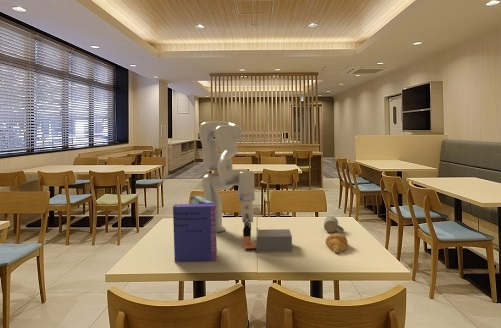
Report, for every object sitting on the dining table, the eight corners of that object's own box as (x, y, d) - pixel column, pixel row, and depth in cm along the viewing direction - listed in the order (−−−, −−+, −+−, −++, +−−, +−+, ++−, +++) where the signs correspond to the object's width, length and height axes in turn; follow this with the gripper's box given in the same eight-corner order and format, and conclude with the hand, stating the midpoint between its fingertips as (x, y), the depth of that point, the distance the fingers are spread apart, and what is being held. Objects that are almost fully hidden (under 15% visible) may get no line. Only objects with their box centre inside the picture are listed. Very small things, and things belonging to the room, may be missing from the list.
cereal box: (216, 257, 160) (215, 203, 158) (216, 261, 156) (214, 205, 153) (176, 258, 160) (174, 203, 158) (174, 262, 155) (172, 206, 153)
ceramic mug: (323, 233, 196) (323, 219, 195) (324, 229, 204) (324, 215, 203) (343, 234, 194) (344, 220, 193) (343, 230, 202) (344, 216, 201)
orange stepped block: (242, 248, 169) (242, 232, 168) (243, 242, 177) (243, 227, 177) (278, 248, 169) (278, 231, 168) (277, 242, 177) (277, 227, 176)
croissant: (343, 262, 162) (352, 247, 160) (322, 251, 163) (331, 236, 162) (341, 246, 183) (349, 233, 181) (323, 236, 184) (331, 223, 182)
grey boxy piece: (256, 251, 167) (256, 235, 166) (256, 243, 179) (256, 227, 179) (291, 251, 167) (291, 234, 166) (289, 243, 179) (289, 227, 178)
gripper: (254, 200, 162) (255, 238, 163) (254, 194, 180) (255, 228, 181) (237, 200, 162) (238, 238, 164) (239, 194, 180) (240, 229, 181)
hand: (247, 233), depth 172 cm, fingers open, 9 cm apart
